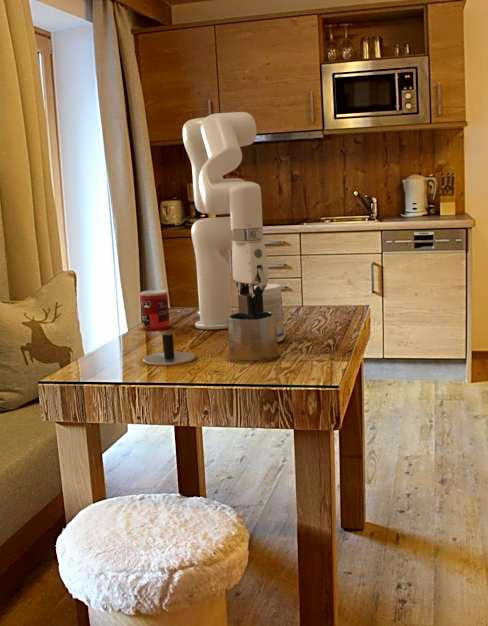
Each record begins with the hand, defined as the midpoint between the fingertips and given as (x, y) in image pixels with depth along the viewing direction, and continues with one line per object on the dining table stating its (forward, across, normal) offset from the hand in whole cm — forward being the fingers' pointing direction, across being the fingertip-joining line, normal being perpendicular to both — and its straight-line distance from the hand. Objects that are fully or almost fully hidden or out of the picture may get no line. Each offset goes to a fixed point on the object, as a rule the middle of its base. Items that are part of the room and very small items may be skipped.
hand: (251, 310), depth 199 cm
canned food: (+12, +52, +3) cm, 53 cm away
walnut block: (0, 0, 0) cm, 0 cm away
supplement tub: (+12, +14, -12) cm, 22 cm away
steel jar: (+12, 0, 0) cm, 12 cm away
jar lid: (+11, +10, +18) cm, 23 cm away
